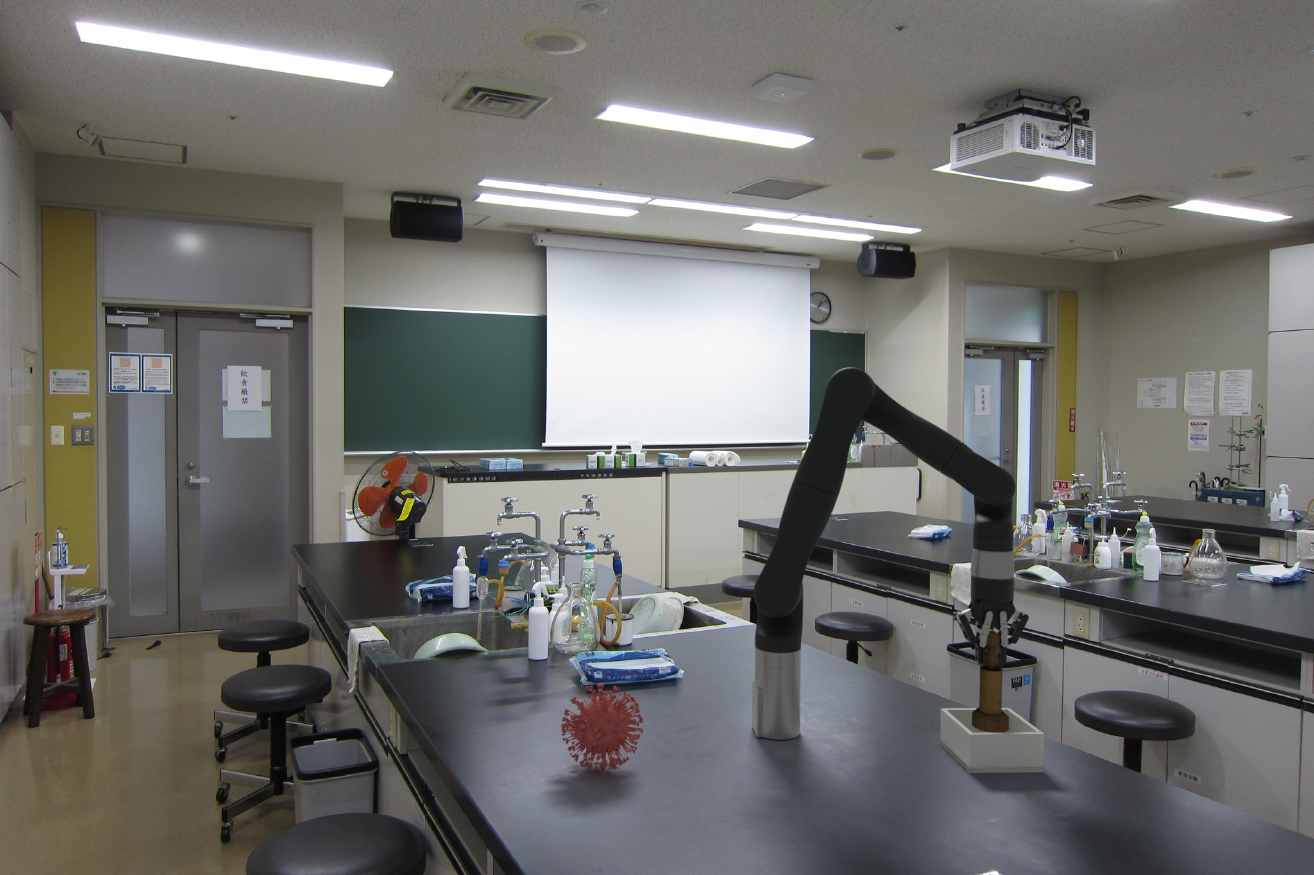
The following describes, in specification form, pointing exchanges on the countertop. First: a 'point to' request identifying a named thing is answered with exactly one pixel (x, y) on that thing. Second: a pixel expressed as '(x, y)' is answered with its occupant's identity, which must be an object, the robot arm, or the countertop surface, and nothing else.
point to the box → (992, 743)
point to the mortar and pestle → (991, 693)
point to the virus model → (603, 727)
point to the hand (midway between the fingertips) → (990, 665)
